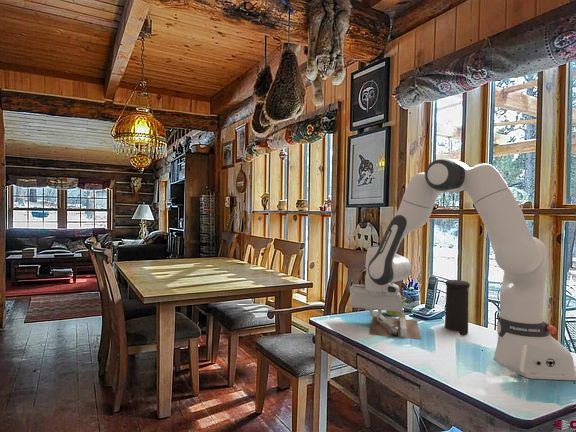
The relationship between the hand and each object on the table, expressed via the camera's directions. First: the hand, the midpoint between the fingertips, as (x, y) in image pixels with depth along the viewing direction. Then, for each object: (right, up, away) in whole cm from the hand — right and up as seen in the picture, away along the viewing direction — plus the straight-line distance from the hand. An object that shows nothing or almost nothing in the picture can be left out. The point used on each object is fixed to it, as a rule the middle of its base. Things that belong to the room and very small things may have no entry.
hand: (375, 320), depth 152 cm
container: (+30, -4, -5) cm, 31 cm away
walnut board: (+6, -3, -4) cm, 8 cm away
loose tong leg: (+3, -1, -5) cm, 6 cm away
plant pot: (+12, -3, +15) cm, 19 cm away
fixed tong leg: (+9, -1, -7) cm, 11 cm away
